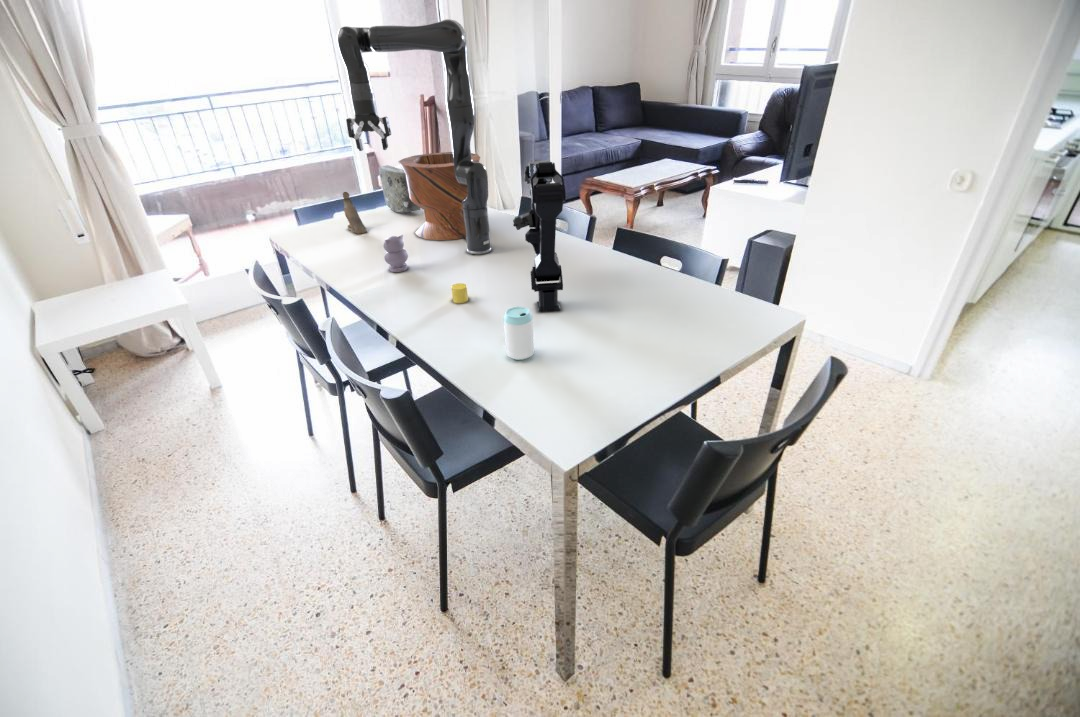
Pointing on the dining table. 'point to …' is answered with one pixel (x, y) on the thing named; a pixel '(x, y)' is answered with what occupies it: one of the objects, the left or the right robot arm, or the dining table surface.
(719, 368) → the dining table surface
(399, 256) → the cat figurine
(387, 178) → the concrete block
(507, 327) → the can
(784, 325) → the dining table surface
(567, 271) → the dining table surface
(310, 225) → the dining table surface
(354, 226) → the brown carved statuette
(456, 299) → the canister
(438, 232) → the wooden planter
